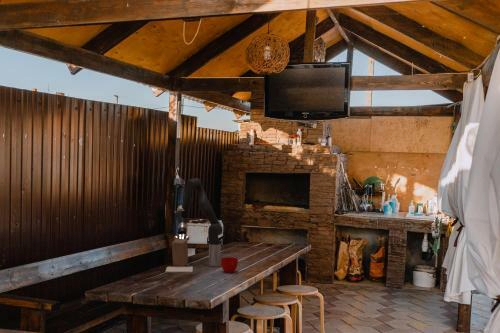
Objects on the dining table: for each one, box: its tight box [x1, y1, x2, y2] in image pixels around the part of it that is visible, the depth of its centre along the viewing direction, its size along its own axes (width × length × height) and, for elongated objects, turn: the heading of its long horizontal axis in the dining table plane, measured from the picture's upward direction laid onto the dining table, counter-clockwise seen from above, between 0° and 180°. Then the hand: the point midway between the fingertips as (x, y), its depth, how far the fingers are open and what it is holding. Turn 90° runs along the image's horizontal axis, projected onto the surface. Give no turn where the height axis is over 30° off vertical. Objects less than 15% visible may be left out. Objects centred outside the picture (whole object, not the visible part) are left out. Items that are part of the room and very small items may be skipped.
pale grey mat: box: [165, 266, 194, 273], centre depth 391 cm, size 20×19×1 cm
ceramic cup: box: [220, 256, 239, 274], centre depth 384 cm, size 13×17×10 cm
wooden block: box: [171, 238, 189, 267], centre depth 405 cm, size 10×10×20 cm
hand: (181, 246), depth 411 cm, fingers closed
